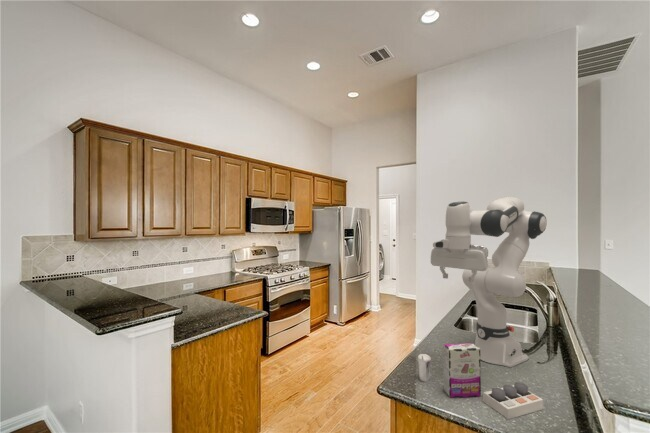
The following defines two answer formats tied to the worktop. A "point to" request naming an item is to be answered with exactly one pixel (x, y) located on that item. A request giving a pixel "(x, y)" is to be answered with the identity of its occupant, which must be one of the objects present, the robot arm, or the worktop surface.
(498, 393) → the button
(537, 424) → the worktop surface
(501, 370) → the worktop surface
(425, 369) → the milkshake
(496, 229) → the robot arm
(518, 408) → the button board
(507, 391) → the button middle
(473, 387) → the candy bar box
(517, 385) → the button
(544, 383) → the worktop surface
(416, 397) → the worktop surface
